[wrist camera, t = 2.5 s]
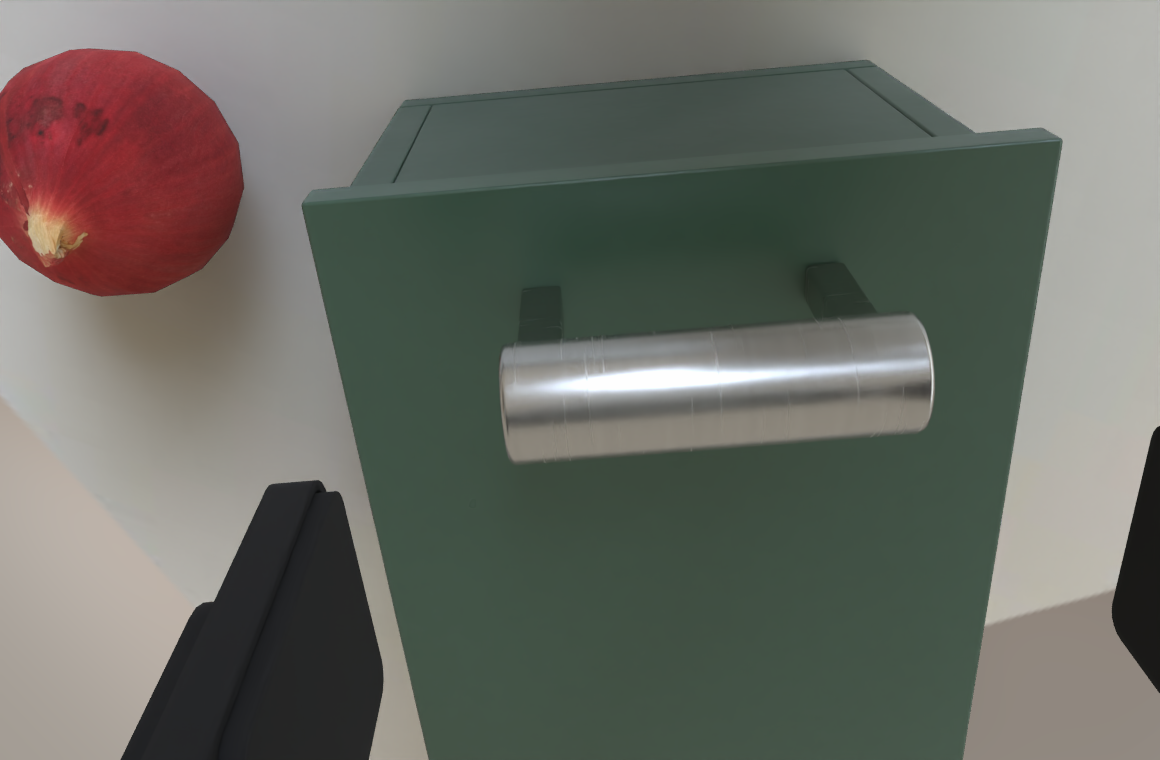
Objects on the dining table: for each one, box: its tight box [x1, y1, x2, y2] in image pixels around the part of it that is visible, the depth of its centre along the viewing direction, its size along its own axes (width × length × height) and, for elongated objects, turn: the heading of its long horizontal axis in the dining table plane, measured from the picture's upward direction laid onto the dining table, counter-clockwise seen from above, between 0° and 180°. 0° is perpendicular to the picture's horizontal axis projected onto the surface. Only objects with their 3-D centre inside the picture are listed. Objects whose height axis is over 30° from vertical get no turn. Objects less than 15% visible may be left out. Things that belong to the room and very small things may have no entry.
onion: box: [0, 49, 244, 296], centre depth 23 cm, size 6×6×8 cm
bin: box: [350, 60, 975, 187], centre depth 25 cm, size 15×13×10 cm
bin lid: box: [302, 128, 1062, 760], centre depth 18 cm, size 16×13×5 cm
